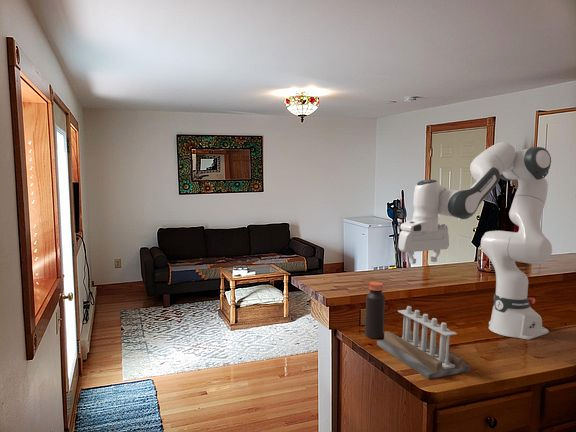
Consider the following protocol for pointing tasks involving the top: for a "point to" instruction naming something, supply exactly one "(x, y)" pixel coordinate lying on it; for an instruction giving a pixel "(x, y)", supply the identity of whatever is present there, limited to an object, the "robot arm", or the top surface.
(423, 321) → the test tube rack
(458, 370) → the cradle
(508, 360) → the top surface
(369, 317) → the bottle
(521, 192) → the robot arm
